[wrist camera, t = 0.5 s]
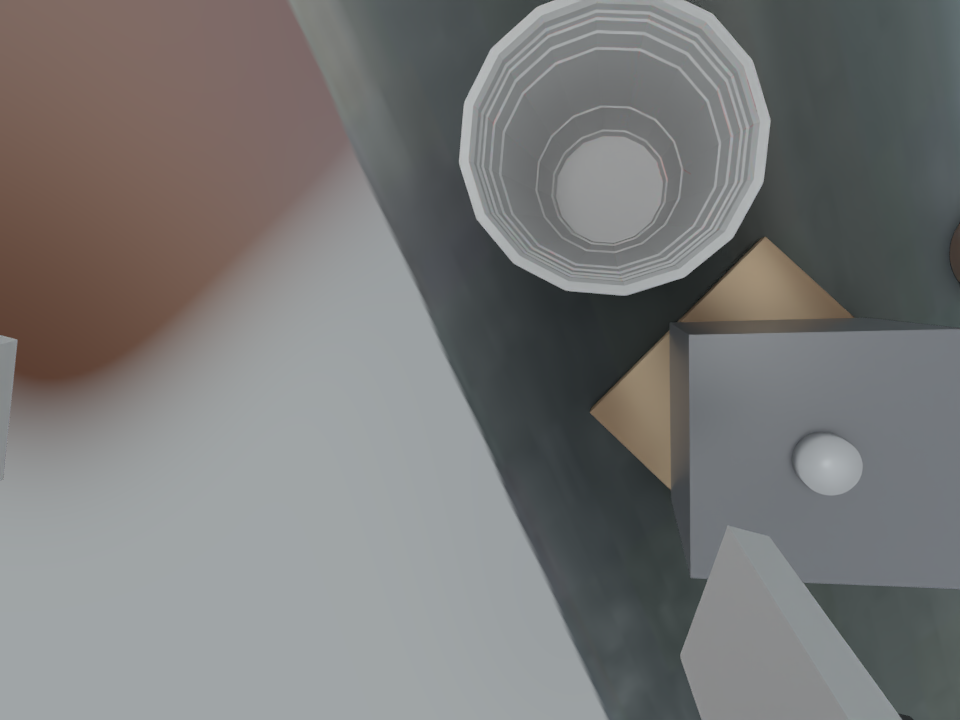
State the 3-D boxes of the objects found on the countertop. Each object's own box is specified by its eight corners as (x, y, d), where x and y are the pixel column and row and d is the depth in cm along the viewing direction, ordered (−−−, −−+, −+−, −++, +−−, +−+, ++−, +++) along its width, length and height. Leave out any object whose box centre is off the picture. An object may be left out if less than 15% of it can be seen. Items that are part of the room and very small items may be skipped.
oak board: (760, 238, 35) (765, 236, 34) (946, 407, 34) (957, 411, 33) (590, 408, 38) (589, 412, 37) (760, 570, 37) (764, 580, 36)
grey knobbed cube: (669, 322, 35) (691, 336, 25) (866, 317, 34) (983, 330, 23) (671, 500, 36) (693, 588, 25) (863, 504, 34) (975, 601, 24)
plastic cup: (763, 227, 35) (836, 196, 24) (569, 331, 38) (547, 350, 26) (658, 35, 35) (679, -92, 24) (471, 150, 38) (404, 87, 26)
